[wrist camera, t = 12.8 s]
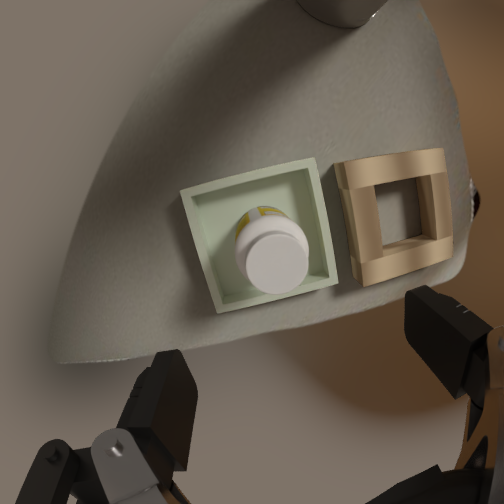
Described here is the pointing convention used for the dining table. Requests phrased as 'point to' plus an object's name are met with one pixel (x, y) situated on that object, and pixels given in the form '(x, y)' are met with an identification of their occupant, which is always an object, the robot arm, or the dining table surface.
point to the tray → (236, 205)
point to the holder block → (367, 219)
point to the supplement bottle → (271, 250)
